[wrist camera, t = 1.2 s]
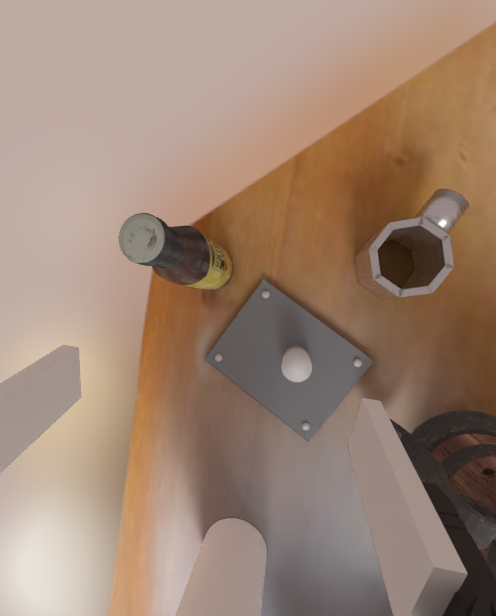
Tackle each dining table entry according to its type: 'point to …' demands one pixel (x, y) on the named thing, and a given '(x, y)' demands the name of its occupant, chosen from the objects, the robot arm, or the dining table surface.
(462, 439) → the tankard
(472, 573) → the robot arm
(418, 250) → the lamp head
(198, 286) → the sauce bottle
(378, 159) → the dining table surface
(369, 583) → the dining table surface
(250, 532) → the cylinder container
